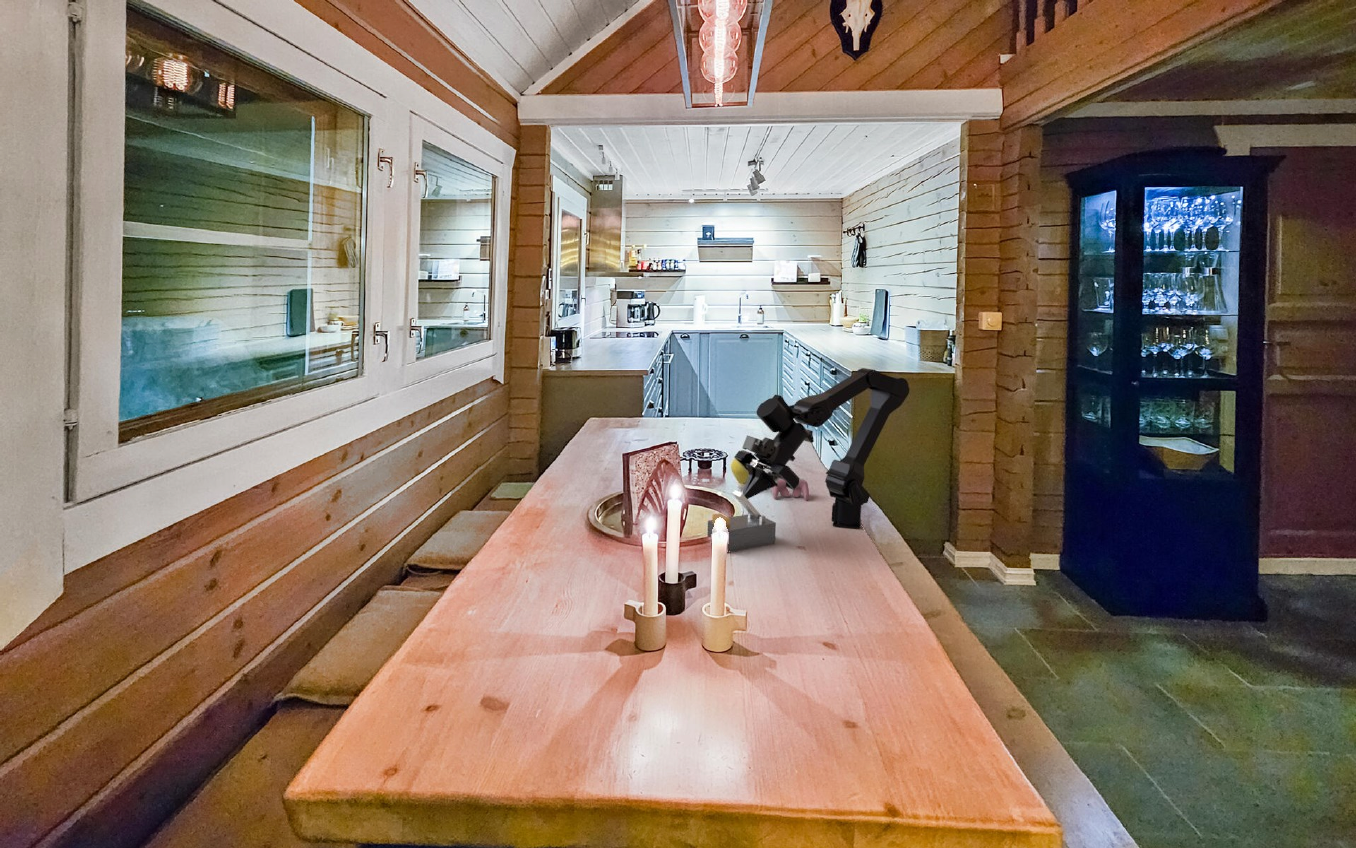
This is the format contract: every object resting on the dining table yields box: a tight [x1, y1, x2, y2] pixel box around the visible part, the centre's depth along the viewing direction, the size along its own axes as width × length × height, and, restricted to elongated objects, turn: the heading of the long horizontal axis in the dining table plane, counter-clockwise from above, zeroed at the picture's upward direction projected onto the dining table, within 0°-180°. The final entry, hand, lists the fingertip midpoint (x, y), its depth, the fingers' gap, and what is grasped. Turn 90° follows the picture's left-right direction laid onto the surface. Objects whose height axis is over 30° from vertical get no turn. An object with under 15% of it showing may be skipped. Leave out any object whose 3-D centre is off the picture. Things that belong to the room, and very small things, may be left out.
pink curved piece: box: [772, 477, 810, 502], centre depth 204 cm, size 10×5×7 cm, turn 85°
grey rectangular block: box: [707, 511, 777, 554], centre depth 167 cm, size 13×8×7 cm, turn 118°
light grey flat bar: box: [732, 490, 762, 519], centre depth 167 cm, size 8×3×1 cm
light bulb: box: [730, 458, 749, 492], centre depth 211 cm, size 7×7×10 cm
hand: (743, 498), depth 166 cm, fingers closed, pressing on light grey flat bar
